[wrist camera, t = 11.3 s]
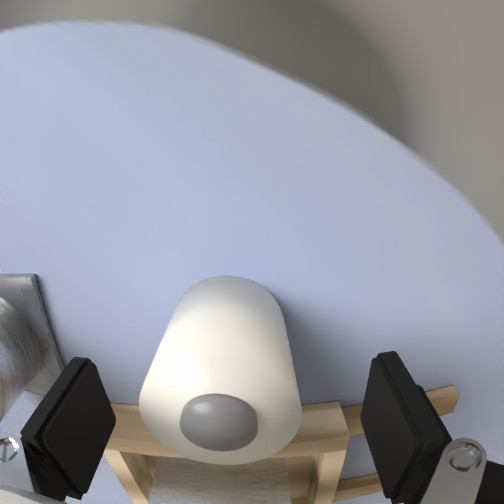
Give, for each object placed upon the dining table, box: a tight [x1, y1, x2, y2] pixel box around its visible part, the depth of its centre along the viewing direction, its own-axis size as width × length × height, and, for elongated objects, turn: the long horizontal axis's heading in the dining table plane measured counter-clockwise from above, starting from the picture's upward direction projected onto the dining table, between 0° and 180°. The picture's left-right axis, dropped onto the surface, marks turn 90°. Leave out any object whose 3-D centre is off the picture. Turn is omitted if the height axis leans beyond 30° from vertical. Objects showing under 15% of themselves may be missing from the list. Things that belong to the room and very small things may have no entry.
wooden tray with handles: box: [103, 385, 460, 504], centre depth 17 cm, size 11×21×3 cm, turn 93°
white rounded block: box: [139, 276, 302, 465], centre depth 12 cm, size 5×5×6 cm
